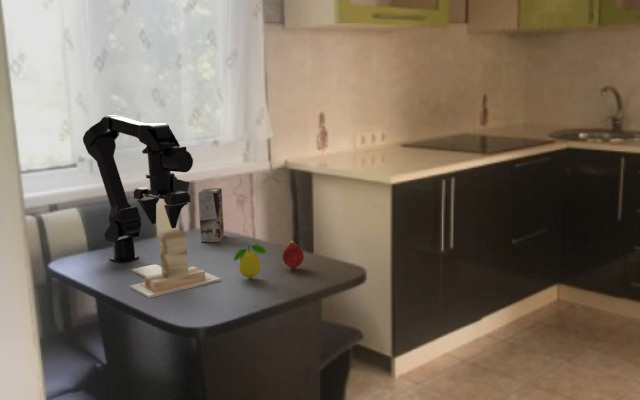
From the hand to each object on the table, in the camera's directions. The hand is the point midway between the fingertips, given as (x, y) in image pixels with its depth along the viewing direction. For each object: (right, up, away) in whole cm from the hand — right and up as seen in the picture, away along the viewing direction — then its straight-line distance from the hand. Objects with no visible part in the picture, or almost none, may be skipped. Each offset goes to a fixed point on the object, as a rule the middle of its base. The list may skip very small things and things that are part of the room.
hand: (163, 226), depth 186 cm
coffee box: (+8, -6, +35) cm, 36 cm away
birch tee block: (+6, -14, -13) cm, 20 cm away
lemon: (+25, -14, -10) cm, 30 cm away
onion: (+36, -12, -3) cm, 38 cm away
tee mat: (+2, -14, -7) cm, 16 cm away
